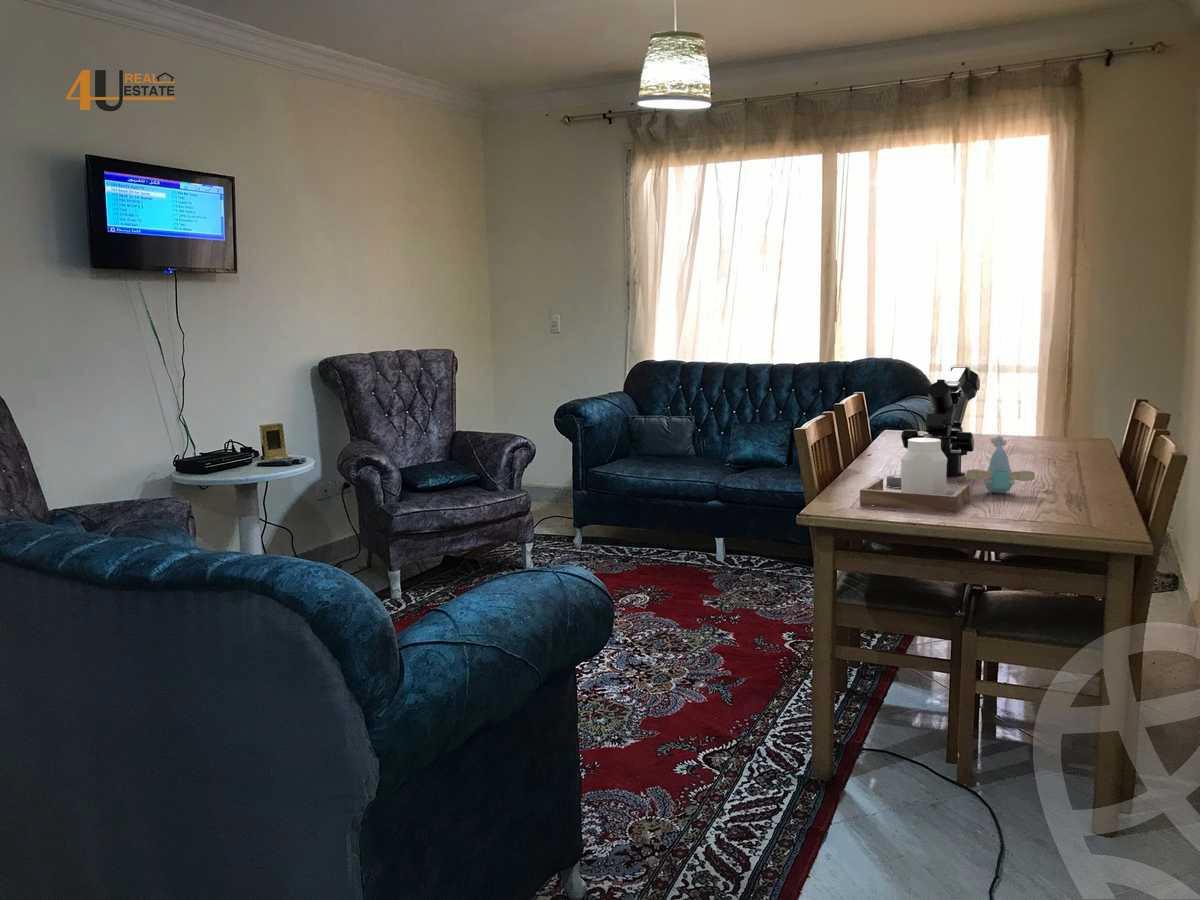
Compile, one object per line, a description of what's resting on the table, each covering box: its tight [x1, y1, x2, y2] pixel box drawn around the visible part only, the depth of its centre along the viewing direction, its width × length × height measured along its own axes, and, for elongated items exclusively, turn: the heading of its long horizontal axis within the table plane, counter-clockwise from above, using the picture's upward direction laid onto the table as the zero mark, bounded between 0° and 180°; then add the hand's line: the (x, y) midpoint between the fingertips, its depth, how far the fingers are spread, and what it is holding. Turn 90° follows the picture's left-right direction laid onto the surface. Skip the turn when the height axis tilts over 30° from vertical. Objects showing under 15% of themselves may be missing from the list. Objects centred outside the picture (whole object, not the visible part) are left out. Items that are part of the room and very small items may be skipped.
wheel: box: [886, 474, 901, 488], centre depth 266 cm, size 6×6×3 cm
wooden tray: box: [859, 477, 971, 514], centre depth 244 cm, size 18×23×4 cm
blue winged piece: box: [965, 434, 1036, 494], centre depth 251 cm, size 17×10×15 cm, turn 71°
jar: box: [900, 438, 947, 495], centre depth 251 cm, size 12×10×15 cm
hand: (932, 464), depth 259 cm, fingers closed
